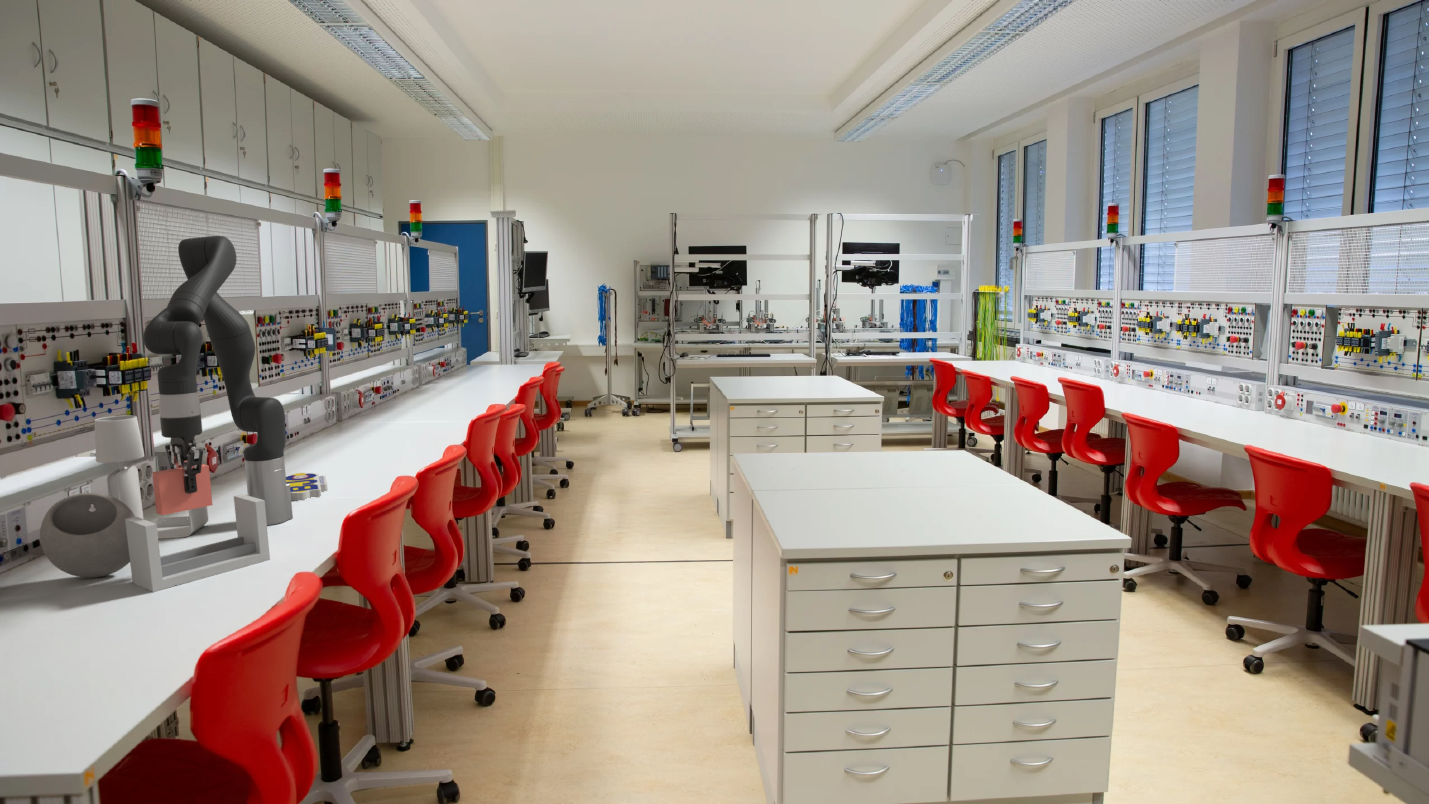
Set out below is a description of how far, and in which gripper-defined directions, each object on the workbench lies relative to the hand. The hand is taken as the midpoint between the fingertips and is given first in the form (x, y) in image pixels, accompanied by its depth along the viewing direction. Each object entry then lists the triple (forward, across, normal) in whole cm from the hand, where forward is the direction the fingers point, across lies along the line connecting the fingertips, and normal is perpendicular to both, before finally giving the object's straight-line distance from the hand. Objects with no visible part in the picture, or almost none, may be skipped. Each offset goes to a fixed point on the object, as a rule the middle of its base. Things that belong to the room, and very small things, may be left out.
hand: (187, 491), depth 183 cm
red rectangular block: (+4, 0, +1) cm, 4 cm away
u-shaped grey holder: (+18, -3, -1) cm, 18 cm away
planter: (+18, +12, +15) cm, 26 cm away
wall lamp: (+18, +38, -6) cm, 42 cm away
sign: (+17, +52, -48) cm, 73 cm away
